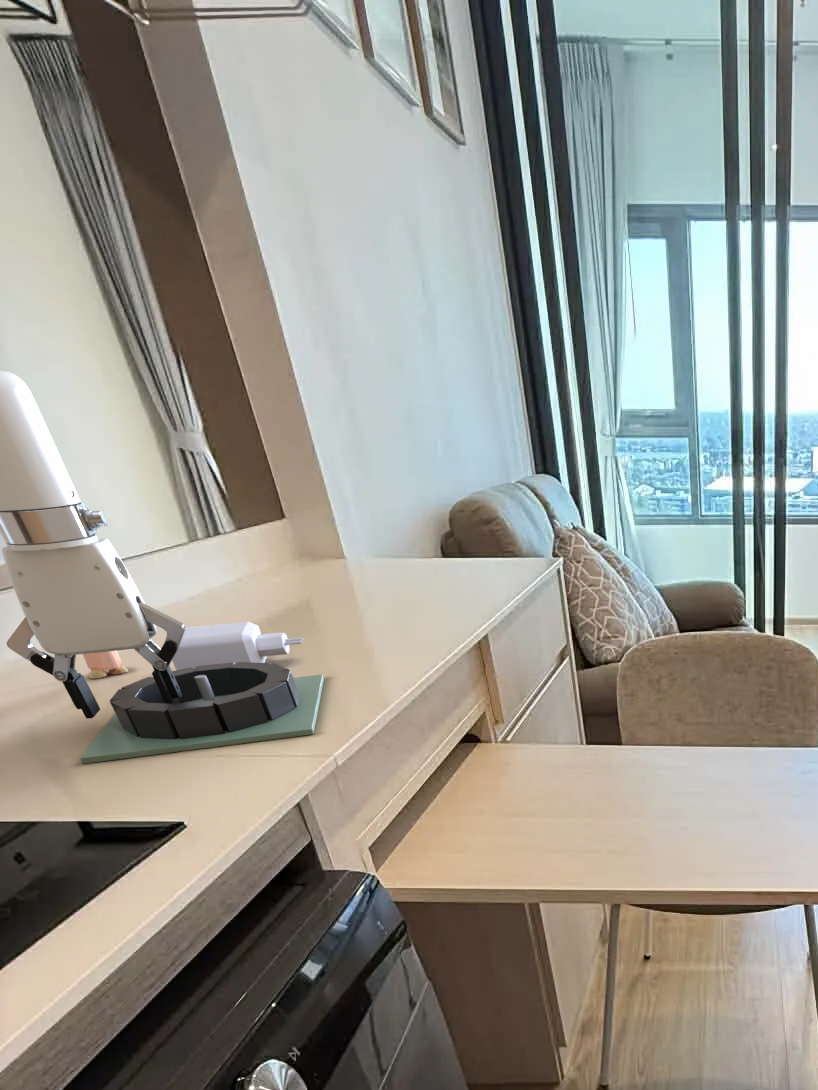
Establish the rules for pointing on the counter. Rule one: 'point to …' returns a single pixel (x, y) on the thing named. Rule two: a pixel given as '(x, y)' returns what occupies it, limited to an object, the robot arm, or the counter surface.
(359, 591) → the counter surface
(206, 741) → the peg board
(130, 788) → the counter surface
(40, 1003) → the counter surface
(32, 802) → the counter surface
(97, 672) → the grandmother figurine
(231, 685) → the segmented bracelet
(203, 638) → the charger
